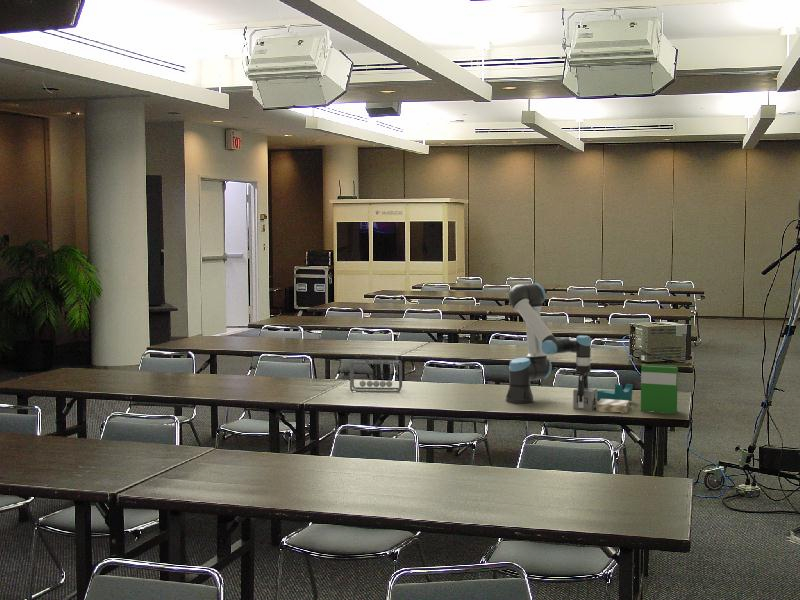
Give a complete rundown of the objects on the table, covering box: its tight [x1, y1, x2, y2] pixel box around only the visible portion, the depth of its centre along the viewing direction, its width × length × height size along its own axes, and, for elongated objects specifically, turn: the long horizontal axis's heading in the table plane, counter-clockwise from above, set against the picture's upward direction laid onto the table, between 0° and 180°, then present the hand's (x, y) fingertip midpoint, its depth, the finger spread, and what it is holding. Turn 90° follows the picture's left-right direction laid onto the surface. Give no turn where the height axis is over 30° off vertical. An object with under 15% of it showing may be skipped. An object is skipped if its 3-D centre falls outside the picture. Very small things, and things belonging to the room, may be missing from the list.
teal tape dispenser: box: [597, 383, 634, 402], centre depth 516 cm, size 18×11×10 cm, turn 40°
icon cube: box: [572, 387, 598, 411], centre depth 498 cm, size 10×10×10 cm
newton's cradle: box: [349, 359, 403, 393], centre depth 550 cm, size 30×10×18 cm, turn 86°
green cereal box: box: [640, 363, 679, 414], centre depth 488 cm, size 18×7×24 cm, turn 68°
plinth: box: [595, 399, 631, 414], centre depth 493 cm, size 15×15×4 cm
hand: (582, 405), depth 499 cm, fingers closed on icon cube, 10 cm apart
